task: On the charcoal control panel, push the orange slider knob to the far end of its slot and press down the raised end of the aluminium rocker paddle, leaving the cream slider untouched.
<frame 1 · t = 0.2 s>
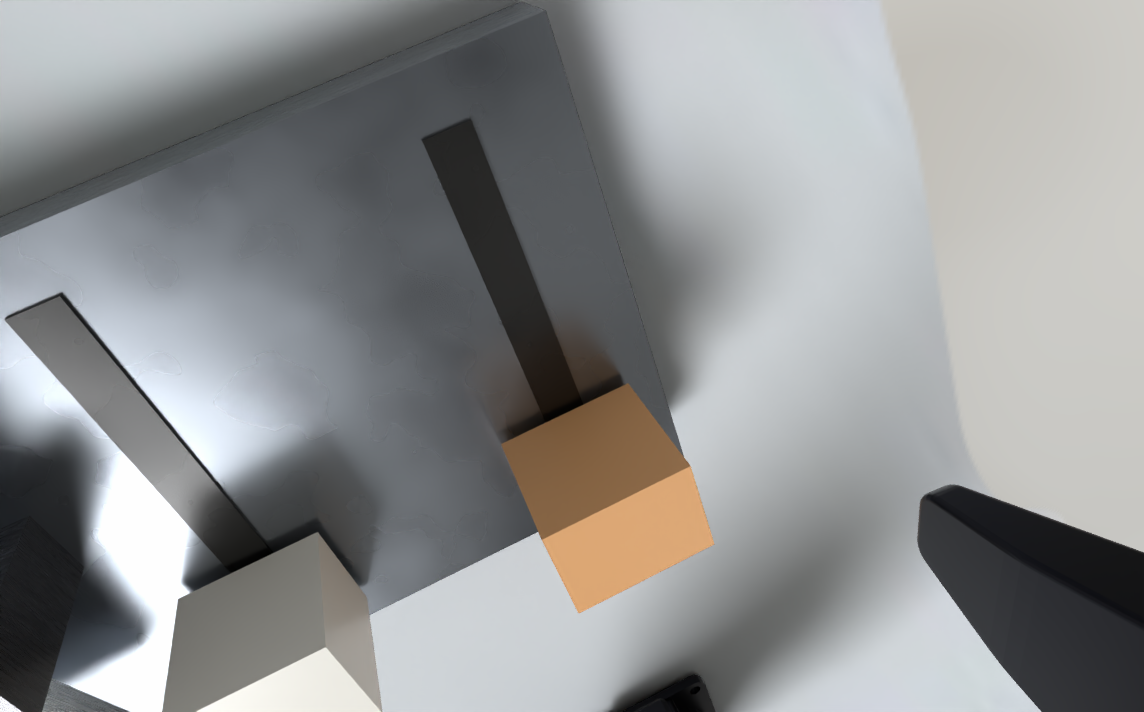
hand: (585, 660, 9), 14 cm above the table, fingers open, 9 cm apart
panel: (209, 430, 21), on the table
slider orange: (604, 492, 21), point 4 cm above the table, slide at 0.0 cm
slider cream: (277, 654, 20), point 4 cm above the table, slide at 0.0 cm
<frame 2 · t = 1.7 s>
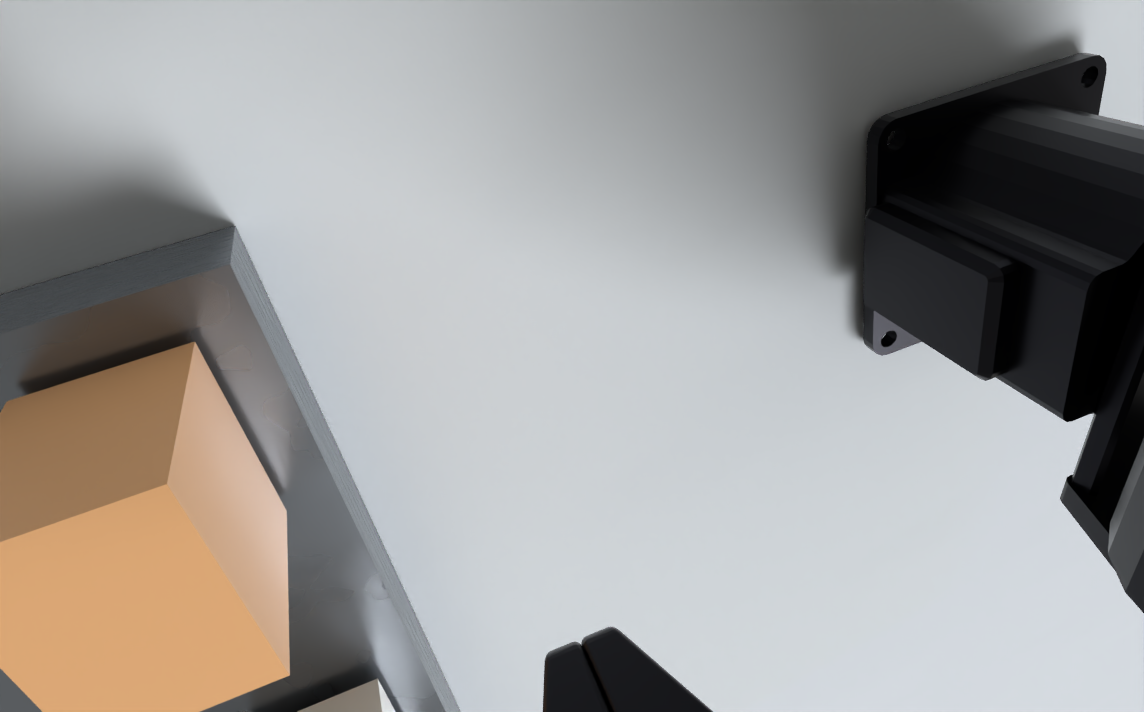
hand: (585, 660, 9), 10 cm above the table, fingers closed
slider orange: (144, 534, 12), point 4 cm above the table, slide at 0.0 cm
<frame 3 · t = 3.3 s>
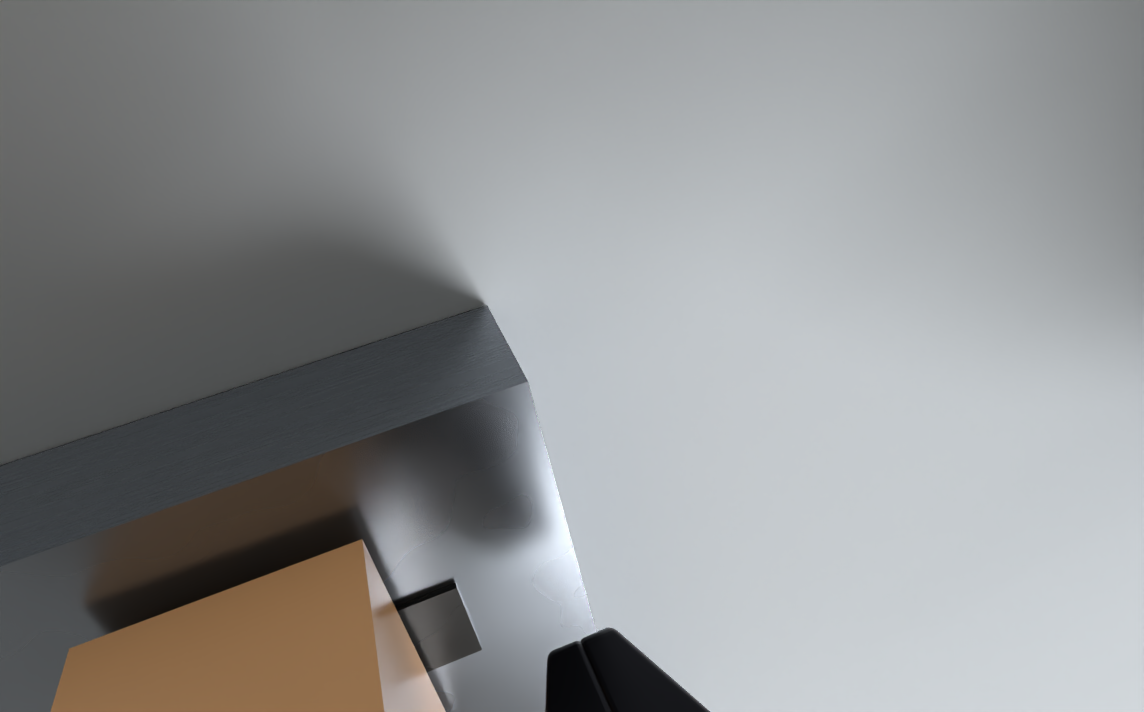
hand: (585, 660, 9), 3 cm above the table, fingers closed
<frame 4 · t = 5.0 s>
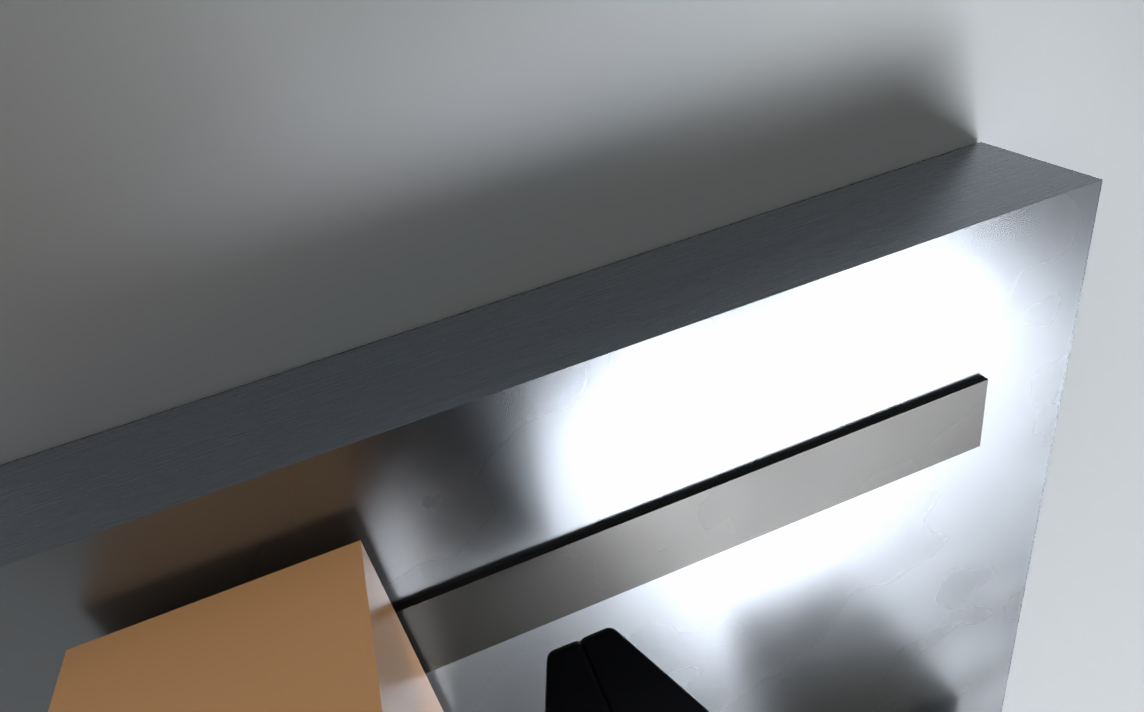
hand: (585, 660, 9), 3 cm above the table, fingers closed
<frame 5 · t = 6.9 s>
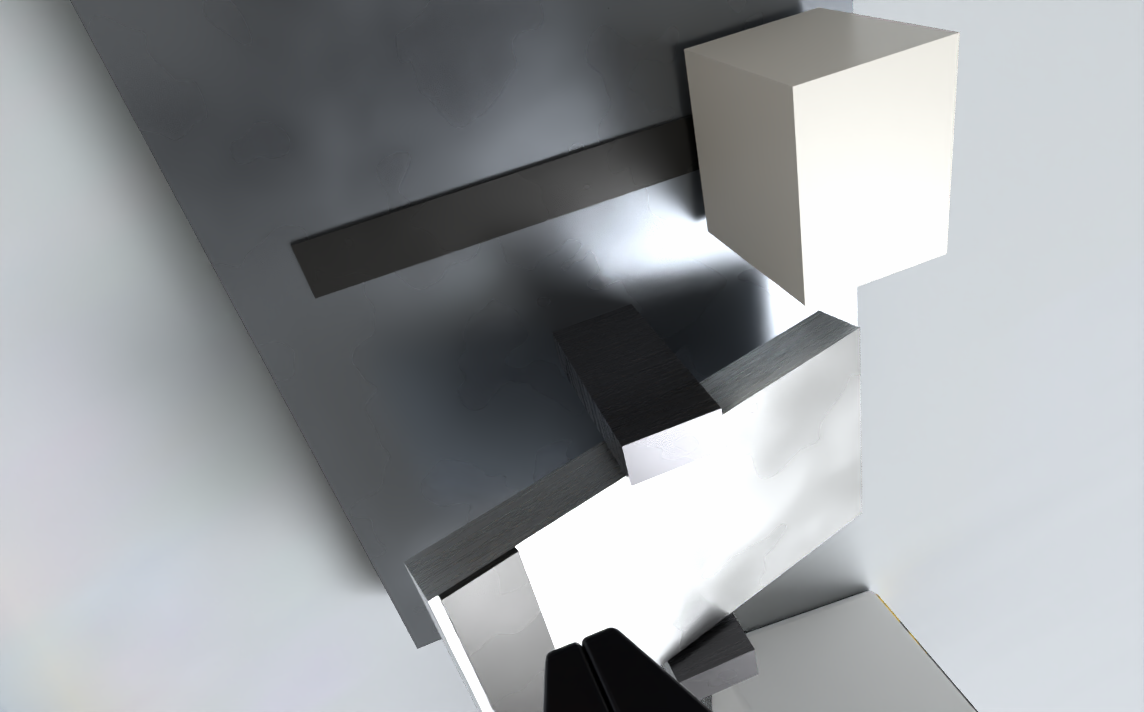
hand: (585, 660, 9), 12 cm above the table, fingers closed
panel: (530, 139, 17), on the table
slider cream: (812, 148, 15), point 4 cm above the table, slide at 0.0 cm
rocker: (675, 535, 17), point 5 cm above the table, hinge at -15.0°
medicine bottle: (785, 667, 31), on the table
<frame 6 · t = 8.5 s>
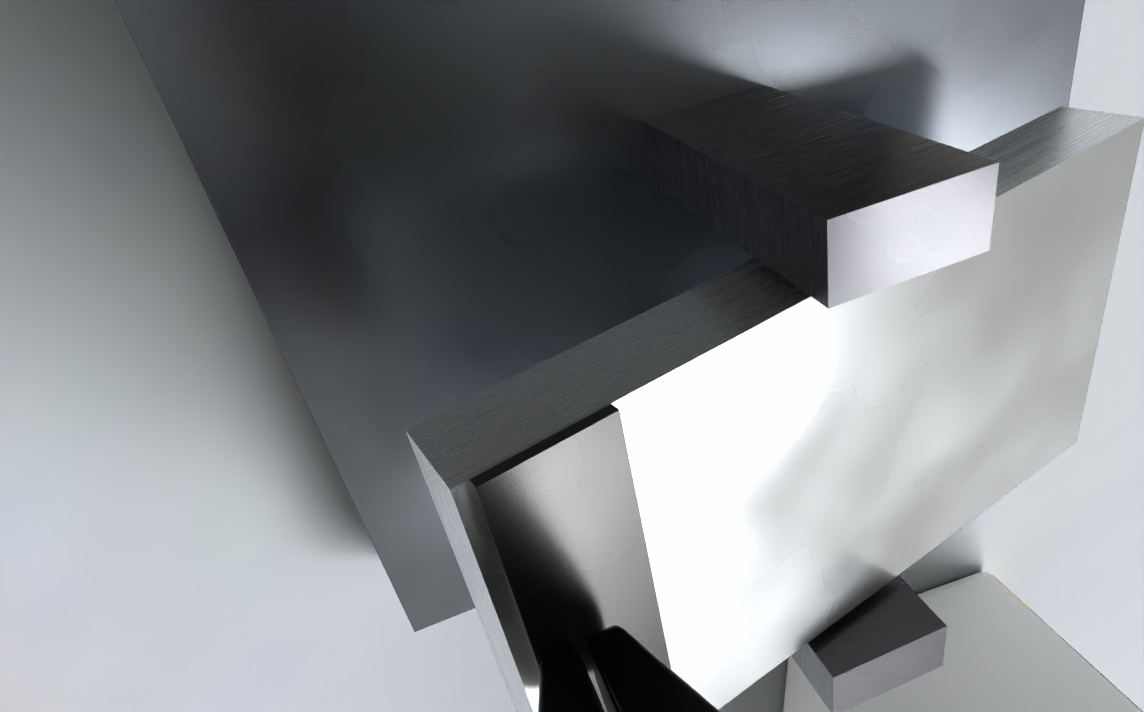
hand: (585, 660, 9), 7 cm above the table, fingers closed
rocker: (838, 439, 11), point 5 cm above the table, hinge at -12.5°, touching gripper
medicine bottle: (871, 669, 25), on the table
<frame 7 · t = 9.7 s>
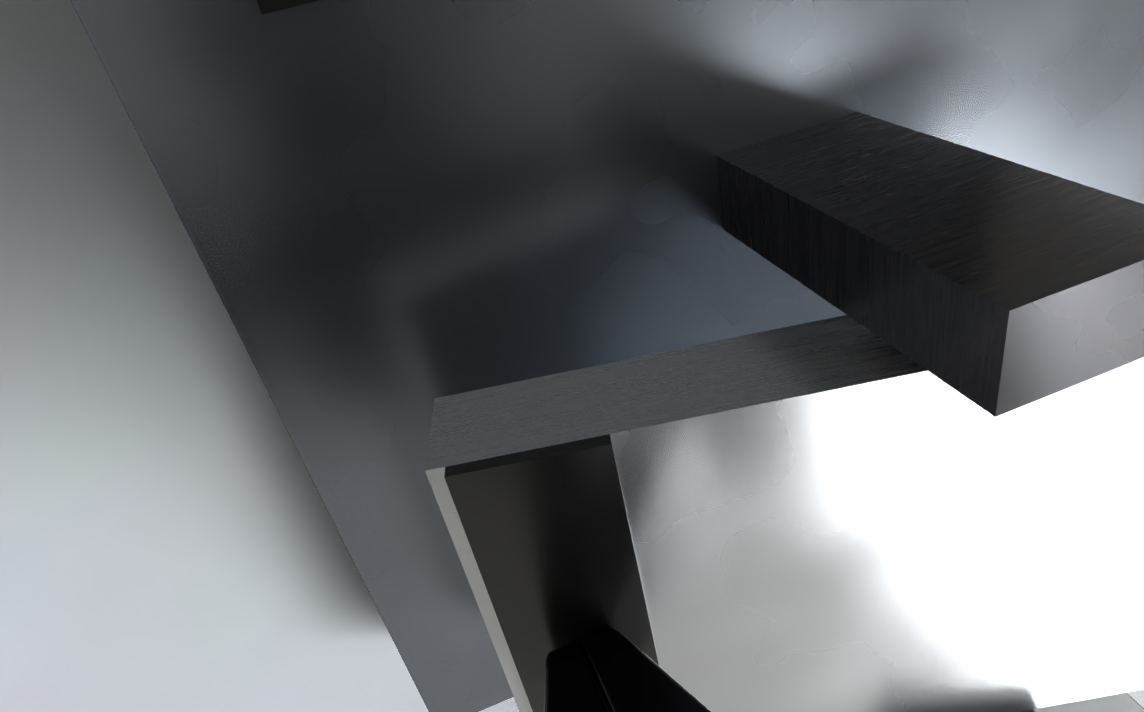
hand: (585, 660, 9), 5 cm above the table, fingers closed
rocker: (950, 539, 9), point 5 cm above the table, hinge at 14.3°, touching gripper
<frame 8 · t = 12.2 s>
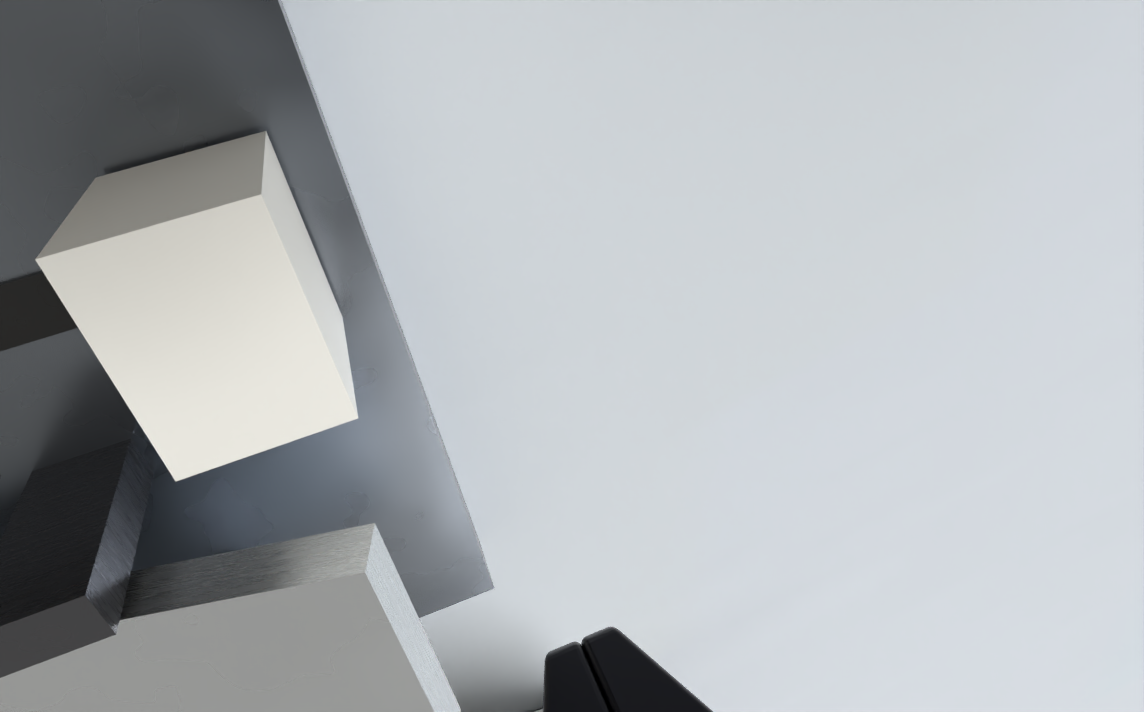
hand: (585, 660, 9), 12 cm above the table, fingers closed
panel: (4, 258, 16), on the table
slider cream: (223, 294, 13), point 4 cm above the table, slide at 0.0 cm
rocker: (156, 703, 16), point 5 cm above the table, hinge at 14.3°
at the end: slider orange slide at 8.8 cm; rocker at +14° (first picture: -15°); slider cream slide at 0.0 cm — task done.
